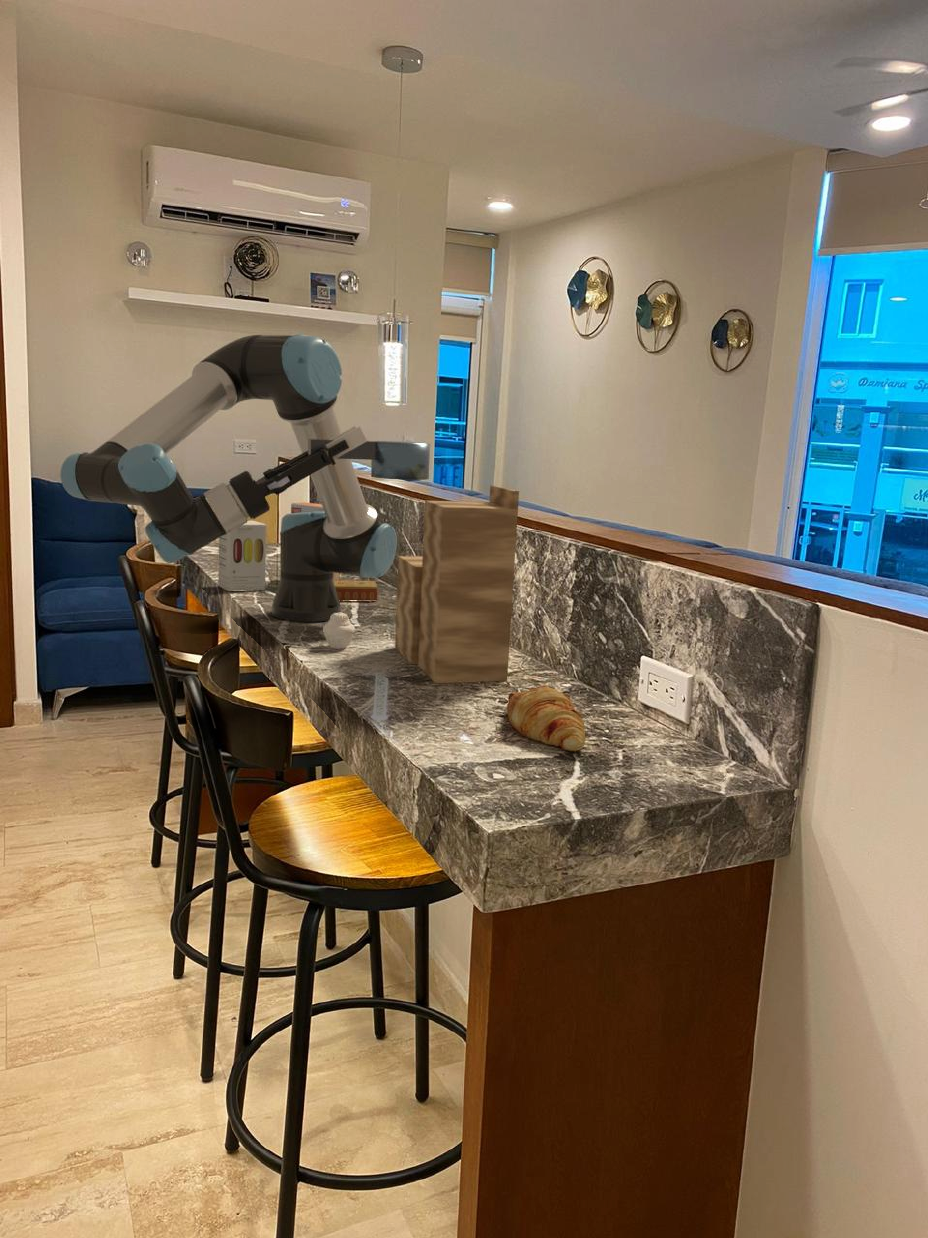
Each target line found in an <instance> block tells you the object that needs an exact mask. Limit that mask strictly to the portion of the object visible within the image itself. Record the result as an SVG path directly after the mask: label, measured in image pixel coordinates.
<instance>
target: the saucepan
mask: <svg viewBox="0 0 928 1238" xmlns="http://www.w3.org/2000/svg"><path fill="white" fill-rule="evenodd" d="M332 441H334V440H325V439H308V456H309V455H311V454H313V453H314V452H316V451H318V450H320V449H322V448H323V447H326V446H325V445H326V444H328V443H330V442H332ZM430 455H431V443H427V442H426V443H425V442H418V441H417V442H416V441H397V440H396V441H395V440H392V441H391V440H367V442H365V443H363V444H362V445H360V446H358V447H356V448H354V449H352V450H351V451H349V452H347V453H345V454H343V455H342V456H340V457H338V458H336V459H351V460H367V461H368V460H369V461H371V463H370V465H371V469H370V470H371V471H370V472H371V473H370V474H371V475H370V476H371V477H372V478H374V479H386V480H400V481H401V480H404V481H405V480H406V481H424V480H425V481H426V480H429V479H430Z"/></svg>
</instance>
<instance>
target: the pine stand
mask: <svg viewBox="0 0 928 1238" xmlns="http://www.w3.org/2000/svg"><path fill="white" fill-rule="evenodd" d="M489 489H490V490H489V499H488V501H486V502H485V501H460V500H459V501H458V500H457V501H456V500H455V501H454V500H449V501H448V500H424V515H423V517H424V519H423V537H422V538H423V541H422V556H421V555H419V556H417V555H416V556H414V555H413V556H411V555H410V556H409V555H408V556H406V555H403V556H402V555H398V557H397V559H398V562H397V564H398V565H397V589H396V613H395V614H396V616H395V617H396V619H395V635H394V636H395V642H394V648H395V649H396V650H397V649H398V650H397V651H398V652H399V653H400V654H401V655H402V656H403V657H404V658H405V660H407V661H408V662H409V663H410V664H411V665H417V666H418V667H419V668H420V669H421V670H422V671H423V672H424V673H425V674H426V675H427V676H428V677H429V678H430V680H432V681H433V682H434V683H435V684H448V683H449V684H450V683H475V682H476V683H478V682H479V681H480V682H481V681H482V682H483V681H484V682H505V681H508V676H509V675H508V674H509V660H510V659H509V656H510V644H511V643H510V641H511V626H512V622H511V621H512V610H513V609H512V608H513V607H512V606H513V594H514V592H513V591H514V581H515V579H514V578H515V577H514V576H515V566H516V565H515V563H516V562H515V561H516V545H517V531H518V530H517V529H518V528H517V527H518V514H519V502H520V500H519V499H520V491H519V490H517V489H512V488H507V487H502V486H500V485H499V486H498V485H490V488H489ZM480 682H479V683H480Z"/></svg>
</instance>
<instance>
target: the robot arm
mask: <svg viewBox="0 0 928 1238" xmlns="http://www.w3.org/2000/svg"><path fill="white" fill-rule="evenodd" d="M342 369H343V368H342V365H341V361H340V358H339V356H338V354H337V352H336V351H335V349H334V348H333V346H332V345H331V344H330V343H328V342H327V340H325V339H323V338H321V337H317V336H315V335H313V336H312V335H306V334H297V333H296V334H293V335H283V334H282V335H279V334H278V335H270V334H269V335H267V334H264V335H263V334H252V335H246V336H243V337H239V338H237V339H235V340H233V341H231V342H229V343H227V344H225V345H223V346H222V347H220V348H219V349H217V350H215V351H214V352H212V353H210V354H209V355H208V356H206V357H205V358H203V359H202V360H201V361H200V362H199V363H197V364H196V365H195V366H194V367H193V369H192V371H191V376H190V377H188V379H186V380H184V381H183V382H182V383H181V384H180V385H178V386H177V387H175V389H173V390H171V392H169V393H168V394H167V395H165V396H164V397H163V398H162V399H160V400H158V401H157V402H156V403H154V405H152V406H151V407H149V408H148V409H147V410H146V411H145V412H143V413H142V414H141V415H140V416H138V417H137V418H135V419H133V421H132V422H130V423H129V424H128V425H126V426H125V427H124V428H122V429H121V430H120V431H118V432H117V433H115V434H114V435H113V436H112V437H111V438H110V439H108V440H107V441H105V442H104V443H103V444H102V445H100V446H98V447H97V448H96V449H95V450H93V451H92V452H88V451H87V452H86V451H85V452H83V451H81V452H80V453H79V452H78V453H77V452H76V453H73V454H70V455H69V456H67V457H66V458H65V460H64V461H63V463H62V465H61V467H60V471H59V473H60V474H59V477H60V482H61V484H62V486H63V488H64V490H65V491H66V492H67V493H68V495H70V496H71V497H73V498H77V499H81V500H86V501H89V502H101V503H110V504H121V505H129V506H134V507H135V506H136V507H142V509H143V510H144V512H145V513H146V515H147V516H148V518H149V519H150V522H148V524H146V525H145V527H144V532H145V534H146V537H147V538H148V539H149V541H150V543H151V545H152V546H153V547H154V549H155V551H156V552H157V555H159V556H160V558H161V559H162V561H163V562H165V563H167V564H174V563H175V562H176V563H177V562H178V561H180V560H182V559H184V558H186V557H188V556H192V555H193V554H195V553H196V552H197V551H200V550H201V549H202V548H204V547H206V546H207V545H209V544H210V543H212V542H215V541H216V540H217V539H218V540H219V537H221V536H223V535H225V534H227V533H229V532H230V531H231V530H232V531H233V532H234V533H237V532H238V531H239V530H238V528H237V527H240V526H241V525H243V524H245V523H247V521H249V520H248V518H250V519H251V520H255V519H256V518H259V517H260V516H262V515H264V514H265V513H267V512H269V511H270V508H271V507H270V505H269V502H268V500H267V499H266V497H267V496H269V495H271V494H273V495H274V494H275V495H276V496H278V495H280V494H282V493H283V492H285V491H287V490H288V489H289V488H291V487H292V486H294V485H295V484H297V483H299V482H300V481H302V480H304V479H305V478H307V477H309V476H310V477H311V481H312V483H313V485H314V488H315V491H316V493H317V496H318V498H319V501H320V504H322V506H323V509H324V511H315V512H301V513H291V512H290V513H287V514H285V515H283V517H282V518H281V525H280V531H279V535H280V544H279V545H280V546H279V547H280V557H279V558H280V560H279V561H280V565H279V566H280V574H279V576H280V578H279V579H280V580H279V584H278V586H277V589H276V592H275V595H274V598H273V600H272V602H271V603H272V604H271V615H272V616H273V617H275V618H276V619H281V620H284V619H285V621H291V620H292V622H323V621H329V620H330V616H331V615H332V614H334V613H339V612H340V613H342V611H341V607H342V606H341V601H339V599H338V595H337V592H336V589H335V585H334V580H333V577H334V572H335V573H340V575H348V576H352V577H353V576H355V577H360V578H364V579H365V578H373V579H376V578H377V579H378V578H380V577H382V576H384V575H385V574H386V573H387V572H388V571H389V569H390V568H391V566H392V564H393V562H394V560H395V557H396V553H397V545H398V536H397V532H396V530H395V528H394V527H393V525H390V524H388V523H386V522H385V523H382V522H381V521H380V519H379V515H378V513H377V510H376V508H375V507H373V506H372V505H370V504H367V502H366V500H365V497H364V493H363V491H362V488H361V486H360V481H359V480H358V476H357V473H356V471H355V468H354V465H353V462H352V459H336V458H338V457H340V456H342V455H343V454H345V453H347V452H349V451H351V450H352V449H354V448H356V447H358V446H360V445H362V444H363V443H365V442H367V441H368V440H367V438H366V436H365V433H364V432H363V430H362V429H361V427H360V426H356V425H354V426H352V427H350V428H348V429H346V430H345V431H343V432H342V430H341V427H340V424H339V422H338V418H337V416H336V413H335V410H334V407H335V405H336V403H337V402H338V395H339V393H340V390H341V387H342V383H343V380H342V379H341V376H342V375H343V370H342ZM248 400H264V401H265V400H266V401H272V402H273V404H274V406H275V409H276V412H277V414H278V417H279V418H280V419H282V420H283V421H285V422H288V423H290V426H291V428H292V431H293V433H294V435H295V438H296V441H297V444H298V446H299V449H300V451H301V454H299V455H297V456H295V457H294V458H291V459H289V460H288V461H286V462H282V463H280V464H278V465H277V466H275V467H273V468H269V469H267V470H265V471H264V472H262V474H263V476H262V477H261V478H259V479H257V480H255V478H254V476H253V475H252V473H251V472H250V471H248V470H244V471H243V472H241V473H239V474H237V475H235V476H233V477H231V478H230V479H229V481H228V482H229V483H226V482H222V483H219V484H218V485H216V486H214V487H213V488H210V489H209V490H207V491H206V492H203V493H202V494H200V495H199V496H197V497H195V498H194V496H193V494H192V493H191V491H190V490H189V489H188V487H187V485H186V484H185V481H184V480H183V478H182V477H181V475H180V473H179V472H178V470H177V467H176V465H175V463H174V462H173V461H172V460H171V459H170V458H169V456H168V455H167V454H168V453H169V452H170V451H172V450H173V449H174V448H175V447H176V446H178V445H179V444H180V443H181V442H183V440H185V439H186V438H188V437H189V436H190V435H191V434H192V433H193V432H194V431H196V430H197V429H198V428H199V427H201V426H202V425H203V424H205V423H206V422H207V421H208V420H209V419H211V418H212V417H213V416H214V415H215V414H216V413H218V412H219V411H227V410H231V409H232V408H233V407H234V406H235V405H237V404H239V403H241V402H244V401H248ZM308 439H325V440H334V441H332V442H330V443H328V444H326V445H325V446H326V447H323V448H322V449H320V450H318V451H316V452H314V453H313V454H311V455H309V456H308ZM220 522H221V523H220ZM221 524H222V525H223V526H222V525H221ZM223 527H224V528H223ZM224 529H225V530H226V531H225V530H224ZM226 532H227V533H226Z"/></svg>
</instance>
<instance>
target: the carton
mask: <svg viewBox="0 0 928 1238" xmlns="http://www.w3.org/2000/svg"><path fill="white" fill-rule="evenodd" d="M334 585H335V589H336V592H337V595H338V599H339V600H377V601H378V585H377V583H376V581H375V580H340V581H335V580H334Z"/></svg>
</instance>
